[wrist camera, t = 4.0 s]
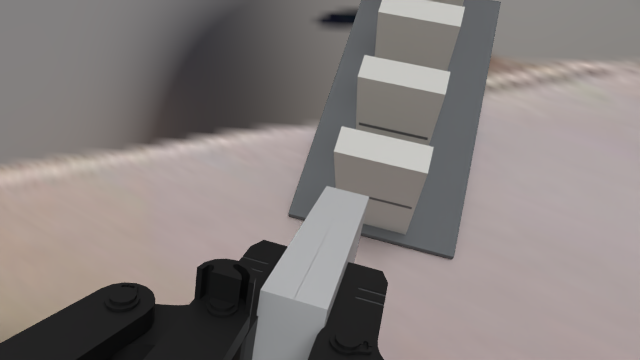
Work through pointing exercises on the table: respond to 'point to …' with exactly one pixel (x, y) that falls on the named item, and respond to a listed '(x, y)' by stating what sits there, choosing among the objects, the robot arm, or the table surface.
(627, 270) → the table surface
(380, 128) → the domino
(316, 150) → the mat
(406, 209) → the domino
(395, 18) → the domino
